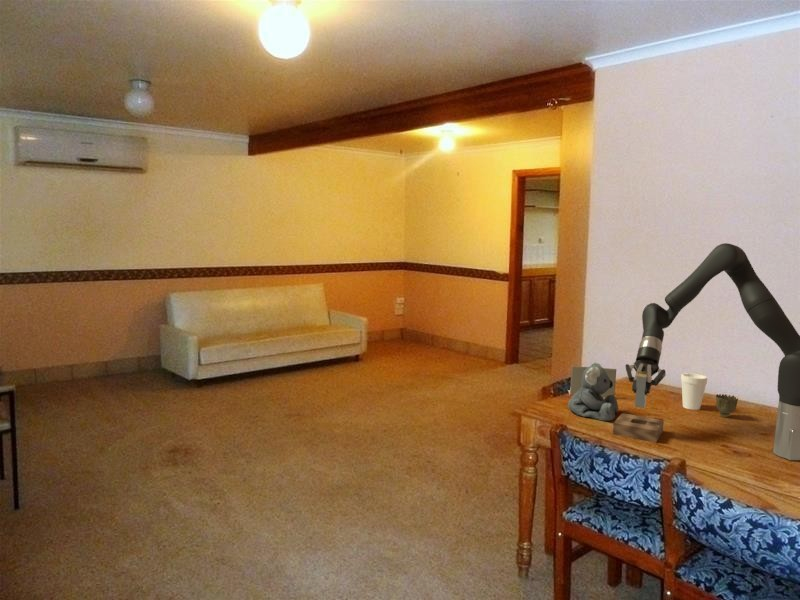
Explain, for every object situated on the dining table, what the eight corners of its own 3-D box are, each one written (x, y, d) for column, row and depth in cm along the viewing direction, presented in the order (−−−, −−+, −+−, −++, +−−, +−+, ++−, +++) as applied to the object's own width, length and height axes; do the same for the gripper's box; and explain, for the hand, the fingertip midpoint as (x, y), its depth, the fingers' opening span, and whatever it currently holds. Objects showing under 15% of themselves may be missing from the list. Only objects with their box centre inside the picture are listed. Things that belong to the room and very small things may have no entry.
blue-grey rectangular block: (645, 405, 214) (647, 372, 211) (643, 408, 211) (646, 374, 209) (636, 403, 215) (638, 370, 213) (634, 406, 213) (637, 373, 210)
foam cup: (689, 411, 242) (692, 379, 241) (673, 404, 251) (676, 373, 250) (709, 410, 245) (712, 378, 243) (692, 403, 254) (695, 372, 252)
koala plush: (613, 423, 223) (617, 371, 221) (563, 416, 231) (566, 364, 228) (618, 411, 239) (622, 362, 237) (571, 404, 246) (574, 356, 244)
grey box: (609, 392, 269) (611, 362, 268) (614, 399, 257) (616, 369, 255) (567, 388, 272) (569, 360, 271) (569, 396, 260) (571, 366, 258)
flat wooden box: (662, 431, 216) (663, 420, 216) (656, 442, 204) (657, 430, 204) (621, 423, 223) (622, 413, 223) (612, 434, 211) (613, 422, 211)
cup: (738, 420, 233) (740, 399, 232) (717, 418, 234) (719, 398, 233) (732, 414, 240) (734, 394, 239) (711, 412, 241) (713, 392, 240)
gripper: (627, 343, 220) (617, 383, 211) (670, 348, 213) (661, 390, 204) (629, 355, 225) (619, 395, 217) (671, 360, 218) (662, 402, 209)
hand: (640, 392), depth 210 cm, fingers closed on blue-grey rectangular block, 3 cm apart
